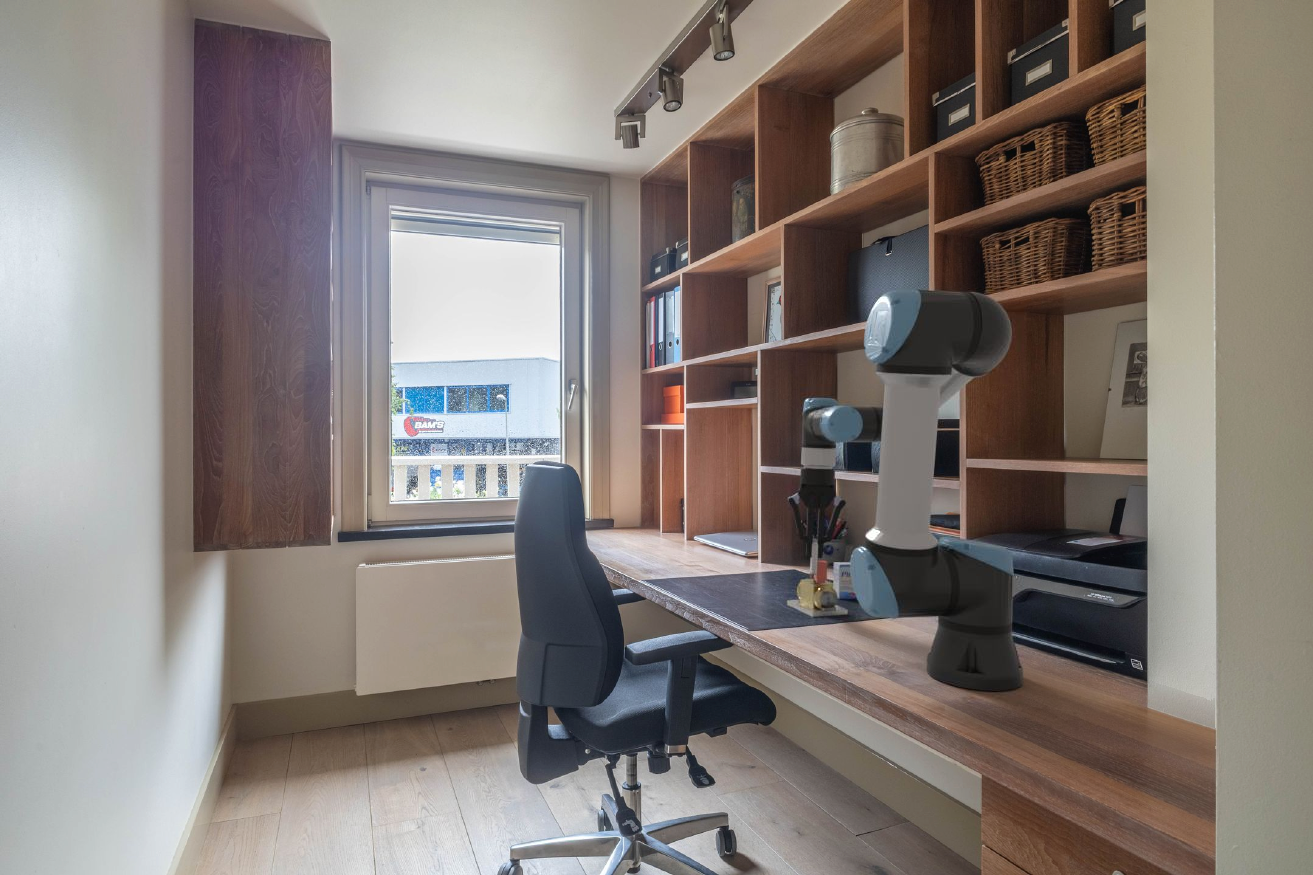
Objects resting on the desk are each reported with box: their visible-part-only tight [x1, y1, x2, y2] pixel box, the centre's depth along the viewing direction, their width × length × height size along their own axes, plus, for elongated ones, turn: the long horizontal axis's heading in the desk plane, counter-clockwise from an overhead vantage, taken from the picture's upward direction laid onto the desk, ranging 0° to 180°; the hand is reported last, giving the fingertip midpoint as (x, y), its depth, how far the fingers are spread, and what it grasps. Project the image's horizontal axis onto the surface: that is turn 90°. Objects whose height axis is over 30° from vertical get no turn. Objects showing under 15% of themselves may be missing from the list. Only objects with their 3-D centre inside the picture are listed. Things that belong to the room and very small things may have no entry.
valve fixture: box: [786, 578, 849, 618], centre depth 171 cm, size 12×9×7 cm
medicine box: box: [832, 561, 857, 600], centre depth 184 cm, size 8×4×9 cm, turn 95°
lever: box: [809, 560, 828, 583], centre depth 168 cm, size 3×10×5 cm, turn 175°
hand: (813, 572), depth 164 cm, fingers closed
